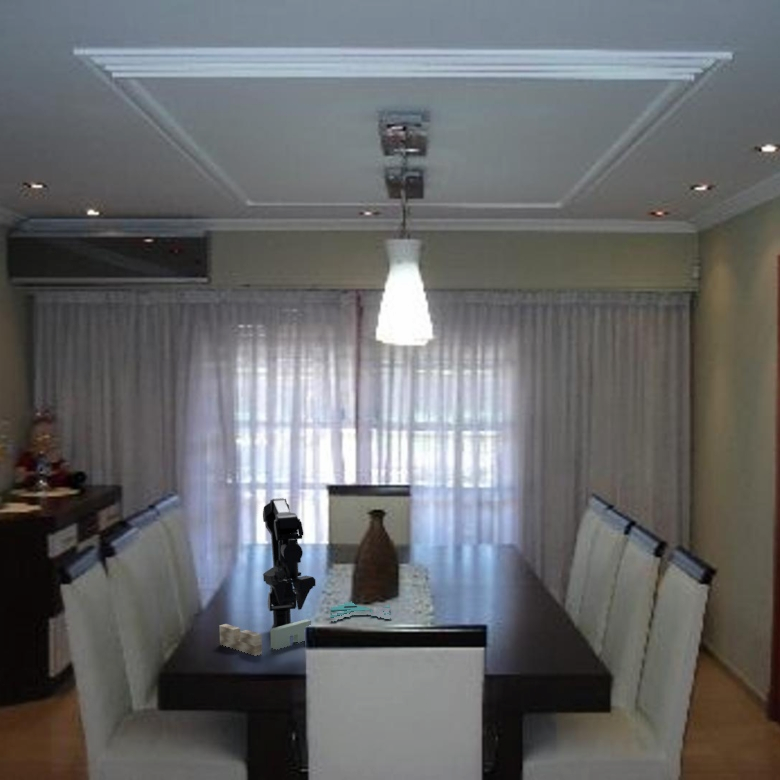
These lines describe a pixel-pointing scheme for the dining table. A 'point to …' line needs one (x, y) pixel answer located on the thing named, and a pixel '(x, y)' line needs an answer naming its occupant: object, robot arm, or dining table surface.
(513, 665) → the dining table surface
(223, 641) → the birch slotted board
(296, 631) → the pale green slotted board
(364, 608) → the alien figure
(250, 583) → the dining table surface
